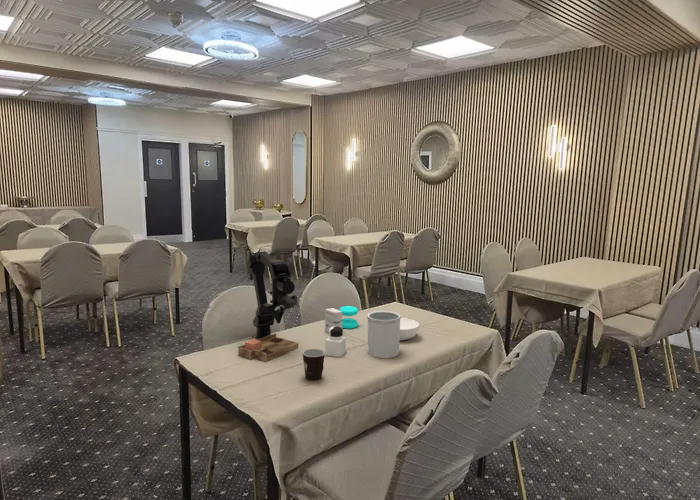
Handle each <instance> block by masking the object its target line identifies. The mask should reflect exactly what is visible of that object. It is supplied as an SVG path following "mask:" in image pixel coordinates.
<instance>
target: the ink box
mask: <svg viewBox="0 0 700 500" xmlns="http://www.w3.org/2000/svg"><path fill="white" fill-rule="evenodd" d="M324 319H325V320H324V322H325V323H324V329H325V332H326V333H328V334H329V329H330V328H331V327H334V326H337V327H341V328H342V319H343V315H342V311H339V309H336V308H333V307H332V308H325V309H324ZM342 329H343V328H342Z"/></svg>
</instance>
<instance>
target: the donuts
mask: <svg viewBox="0 0 700 500" xmlns="http://www.w3.org/2000/svg"><path fill="white" fill-rule="evenodd" d="M338 310H339V311H342V316H343V317H344V316H345V318H342V329H348V330H349V329H350V330H351V329H355V328H357V326H358V325H359V322H358V321H357V320H356V319H354V318H350V317H354V316H356V315H358V313H359V309H358V308H357V307H356V306H351V305H346V306H345V305H344V306H341V307H340V308H339V309H338ZM346 317H348V318H346Z"/></svg>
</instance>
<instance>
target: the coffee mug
mask: <svg viewBox="0 0 700 500" xmlns="http://www.w3.org/2000/svg"><path fill="white" fill-rule="evenodd" d="M325 356H326V355H325V350H323V349H320V348H308V349H305V350H304V351H302V358H303V359H302V360H303V368H304V370H303V371H304V377H305V379H306V380H307V381H313V382H315V381H319V380H321V379H322V378H323V371H324V363H325Z"/></svg>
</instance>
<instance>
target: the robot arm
mask: <svg viewBox="0 0 700 500" xmlns="http://www.w3.org/2000/svg"><path fill="white" fill-rule="evenodd" d="M266 267H267V268H268V272H269V273H270V278H271V291H270V292H269V294H270V295H271V300H269V301H270V302H269V303H268V297H267V296H268V295H267V292H266V291H267V290H266V285H265V279H264V274H265V271H266ZM246 268H247V269H248V270H247V271H248V273H249V274H250V275H251V276H252V279H253V283H254V291H255V295H256V296H255V297H256V302H257V308H256V310H255V317H254V318H253V320H252V325H253V327H255V329H256V335H255V336H254V337H253V339H256V340H258V339H261V338H264V337H266V336H269V335H272V334H271V332H272V329H271V326H274V323H275V321H276V323H277V324H280V323H281V322H282V318H283V316H284V313H285V311H286V310H290V309H292V308H294V307H295V306H297V305H298V296H297V295H295V294H294V295H292V296H291V294H292V293H294V291H295V289H296V285H295V283H294V282H293V281H291V279H292V275H291V270H290V269H289V266H288V264H287V262H286V261H284V260H280V259H276V258H275V257H274V256H272V255H270V254H269V253H268V251H257V252H255V254H254V255H252V256H250V257H249V258H248V259H247V261H246Z"/></svg>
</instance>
